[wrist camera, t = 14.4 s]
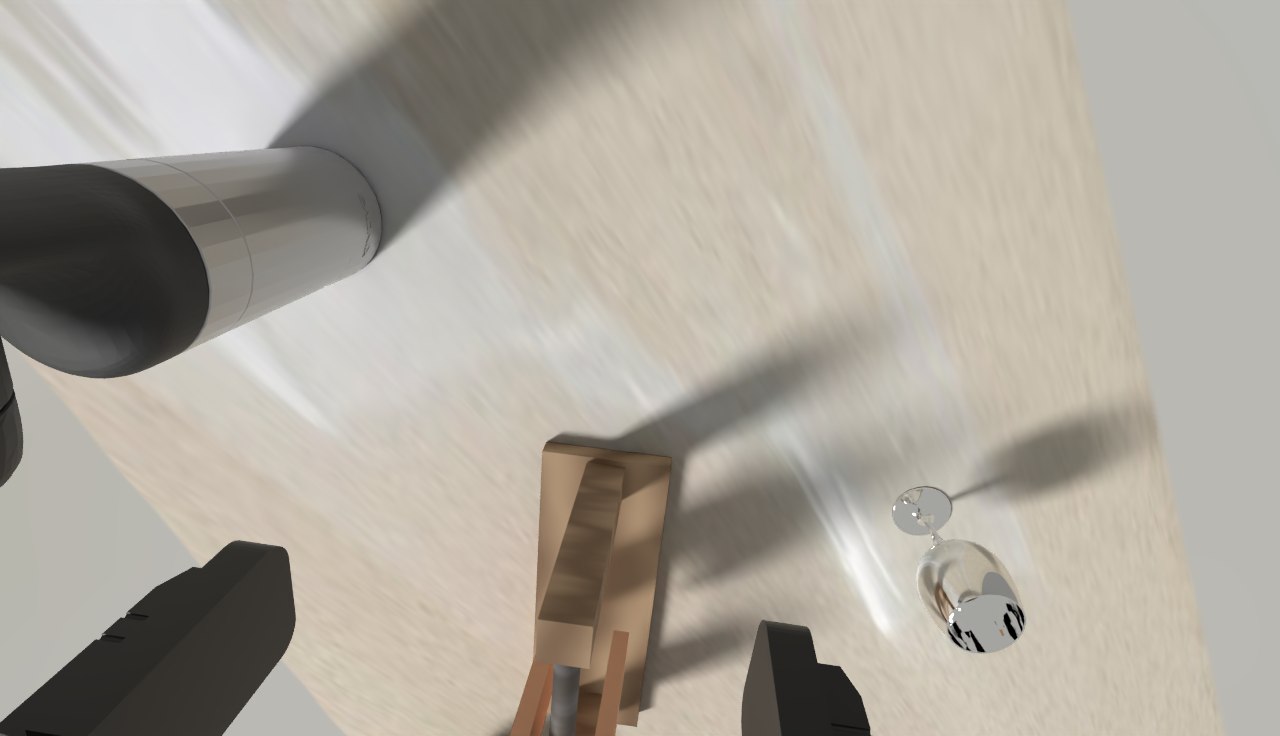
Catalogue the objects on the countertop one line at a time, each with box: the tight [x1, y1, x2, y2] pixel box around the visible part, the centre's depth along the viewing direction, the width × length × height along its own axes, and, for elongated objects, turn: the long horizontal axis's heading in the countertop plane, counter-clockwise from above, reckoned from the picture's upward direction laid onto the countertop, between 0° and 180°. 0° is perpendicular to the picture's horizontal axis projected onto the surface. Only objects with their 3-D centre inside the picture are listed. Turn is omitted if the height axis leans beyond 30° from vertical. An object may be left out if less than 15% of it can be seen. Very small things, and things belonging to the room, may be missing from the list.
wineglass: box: [892, 487, 1026, 653], centre depth 44 cm, size 6×6×12 cm
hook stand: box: [533, 442, 672, 736], centre depth 47 cm, size 10×28×18 cm, turn 175°
